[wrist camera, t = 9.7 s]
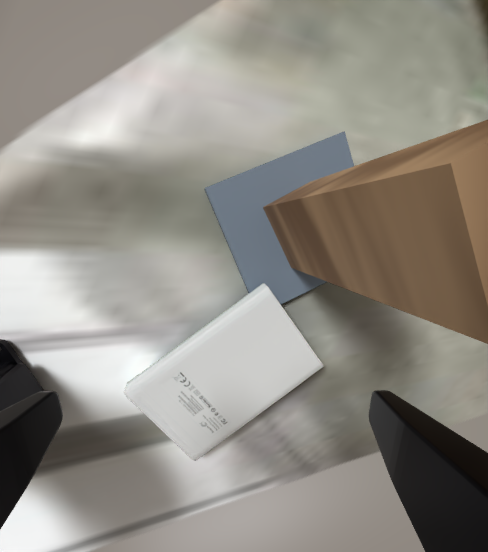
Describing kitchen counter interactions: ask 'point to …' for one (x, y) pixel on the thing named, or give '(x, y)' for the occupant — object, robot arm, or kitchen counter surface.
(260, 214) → the rubber mat
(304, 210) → the walnut block
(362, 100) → the kitchen counter surface
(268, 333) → the external hard drive
